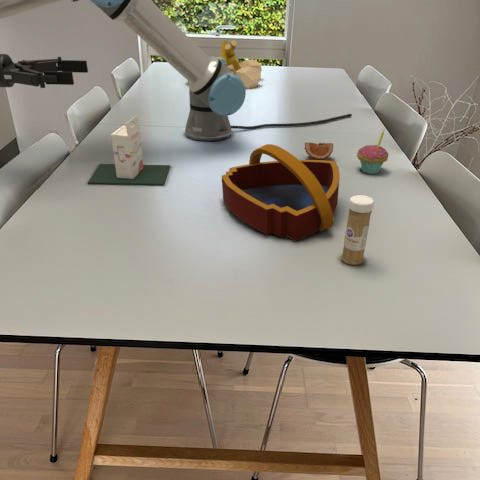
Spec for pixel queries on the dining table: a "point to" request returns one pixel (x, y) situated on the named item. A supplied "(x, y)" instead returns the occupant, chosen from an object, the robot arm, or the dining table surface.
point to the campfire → (247, 69)
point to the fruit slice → (319, 150)
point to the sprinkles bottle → (357, 229)
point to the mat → (144, 177)
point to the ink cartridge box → (127, 150)
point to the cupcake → (372, 157)
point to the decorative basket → (283, 193)
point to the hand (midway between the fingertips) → (80, 72)
